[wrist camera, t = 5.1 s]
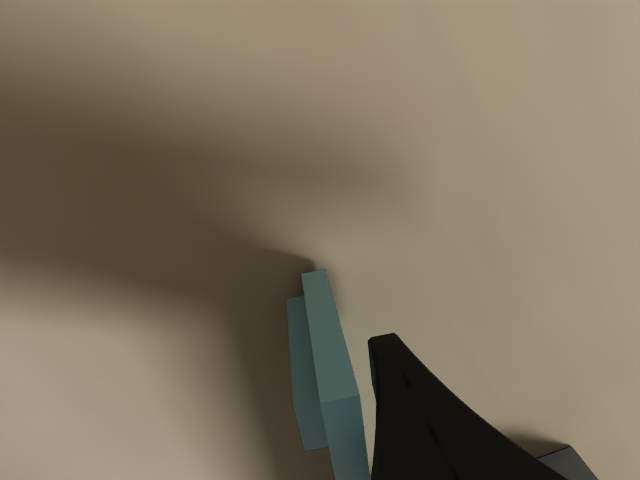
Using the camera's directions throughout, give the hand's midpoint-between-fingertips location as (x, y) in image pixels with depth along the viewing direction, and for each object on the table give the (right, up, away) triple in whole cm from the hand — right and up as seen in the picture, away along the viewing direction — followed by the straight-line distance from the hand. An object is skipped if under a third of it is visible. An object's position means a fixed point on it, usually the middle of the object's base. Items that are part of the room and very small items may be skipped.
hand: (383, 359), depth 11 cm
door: (-1, -4, +4) cm, 6 cm away
